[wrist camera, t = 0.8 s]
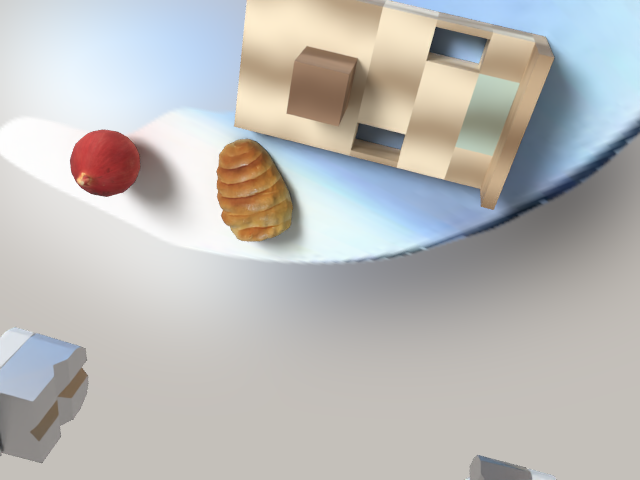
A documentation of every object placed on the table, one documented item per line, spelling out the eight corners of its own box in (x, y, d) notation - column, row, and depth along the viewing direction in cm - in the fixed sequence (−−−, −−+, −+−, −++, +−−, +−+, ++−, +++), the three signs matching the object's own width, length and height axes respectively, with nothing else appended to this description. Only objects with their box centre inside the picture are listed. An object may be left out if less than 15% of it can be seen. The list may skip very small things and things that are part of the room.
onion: (156, 179, 58) (116, 221, 51) (100, 168, 59) (53, 208, 52) (152, 122, 55) (109, 159, 48) (93, 112, 55) (43, 147, 49)
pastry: (207, 140, 55) (191, 158, 52) (276, 130, 53) (264, 148, 50) (236, 228, 60) (224, 249, 56) (301, 222, 58) (292, 243, 55)
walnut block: (306, 46, 46) (294, 60, 42) (357, 58, 45) (349, 74, 42) (298, 95, 48) (286, 113, 45) (347, 107, 48) (338, 126, 44)
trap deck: (259, -30, 46) (236, -18, 41) (545, 36, 44) (554, 57, 40) (243, 115, 53) (222, 140, 48) (491, 178, 51) (493, 209, 46)
